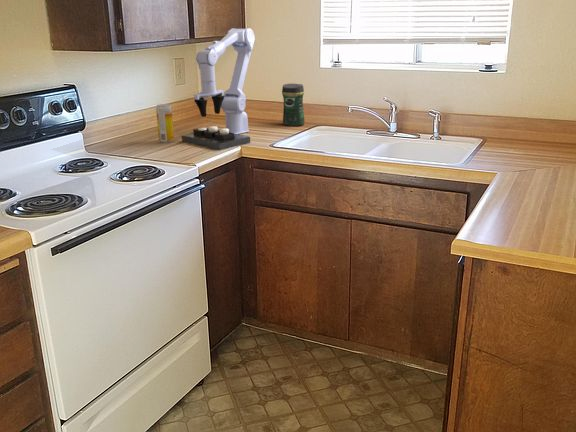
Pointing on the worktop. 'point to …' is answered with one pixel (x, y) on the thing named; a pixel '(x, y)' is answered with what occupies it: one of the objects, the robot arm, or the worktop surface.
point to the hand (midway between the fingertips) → (210, 115)
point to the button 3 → (224, 131)
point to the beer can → (165, 123)
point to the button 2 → (213, 129)
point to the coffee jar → (293, 104)
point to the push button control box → (215, 139)
